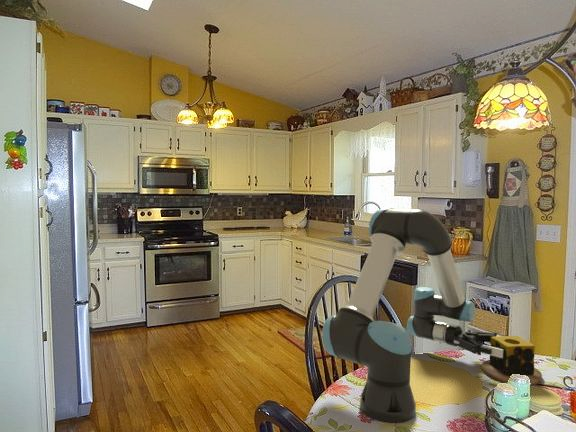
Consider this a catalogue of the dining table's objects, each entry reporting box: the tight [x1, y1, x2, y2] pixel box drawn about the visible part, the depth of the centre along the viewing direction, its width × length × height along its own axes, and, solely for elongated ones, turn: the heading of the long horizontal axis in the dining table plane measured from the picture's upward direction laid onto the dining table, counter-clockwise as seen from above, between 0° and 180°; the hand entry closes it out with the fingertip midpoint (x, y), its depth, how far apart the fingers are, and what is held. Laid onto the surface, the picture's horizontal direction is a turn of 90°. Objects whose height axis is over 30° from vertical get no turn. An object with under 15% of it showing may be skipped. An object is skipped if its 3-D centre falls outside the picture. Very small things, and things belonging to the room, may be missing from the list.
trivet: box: [481, 359, 543, 386], centre depth 145 cm, size 18×18×2 cm
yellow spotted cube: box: [489, 335, 536, 376], centre depth 144 cm, size 10×10×10 cm
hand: (509, 348), depth 145 cm, fingers open, 13 cm apart
